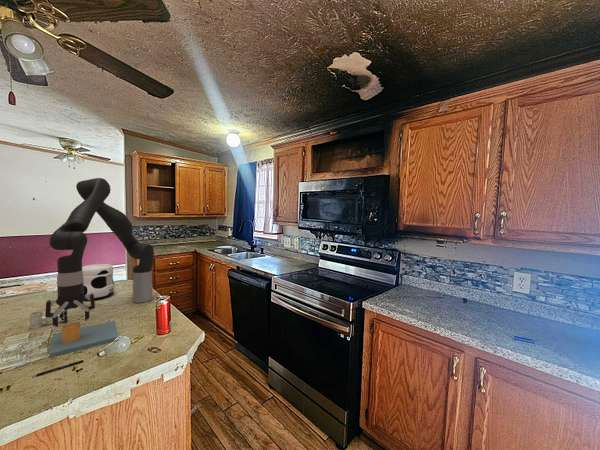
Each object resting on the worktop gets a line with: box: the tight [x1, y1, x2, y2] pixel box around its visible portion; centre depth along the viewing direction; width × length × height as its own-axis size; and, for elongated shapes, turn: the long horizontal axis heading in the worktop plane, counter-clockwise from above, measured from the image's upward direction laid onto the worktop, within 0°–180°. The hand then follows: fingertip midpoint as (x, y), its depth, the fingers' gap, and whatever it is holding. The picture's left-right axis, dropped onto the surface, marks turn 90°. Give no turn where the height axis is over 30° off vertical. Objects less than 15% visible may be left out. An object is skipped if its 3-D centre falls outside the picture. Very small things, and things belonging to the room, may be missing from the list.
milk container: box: [82, 263, 116, 300], centre depth 148 cm, size 17×17×18 cm
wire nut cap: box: [61, 321, 81, 343], centre depth 99 cm, size 5×5×6 cm
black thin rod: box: [31, 359, 84, 379], centre depth 83 cm, size 12×1×1 cm, turn 135°
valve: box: [29, 309, 68, 330], centre depth 113 cm, size 7×7×12 cm
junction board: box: [48, 320, 119, 358], centre depth 103 cm, size 20×18×2 cm
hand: (71, 323), depth 99 cm, fingers open, 8 cm apart
